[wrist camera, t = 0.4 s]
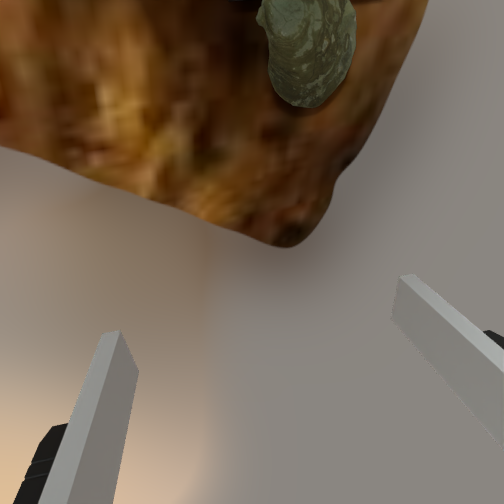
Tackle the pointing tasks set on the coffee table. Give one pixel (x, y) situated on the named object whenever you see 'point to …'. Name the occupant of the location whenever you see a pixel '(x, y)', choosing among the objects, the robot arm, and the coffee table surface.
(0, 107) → the coffee table surface
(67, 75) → the coffee table surface
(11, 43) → the coffee table surface
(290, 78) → the seashell
